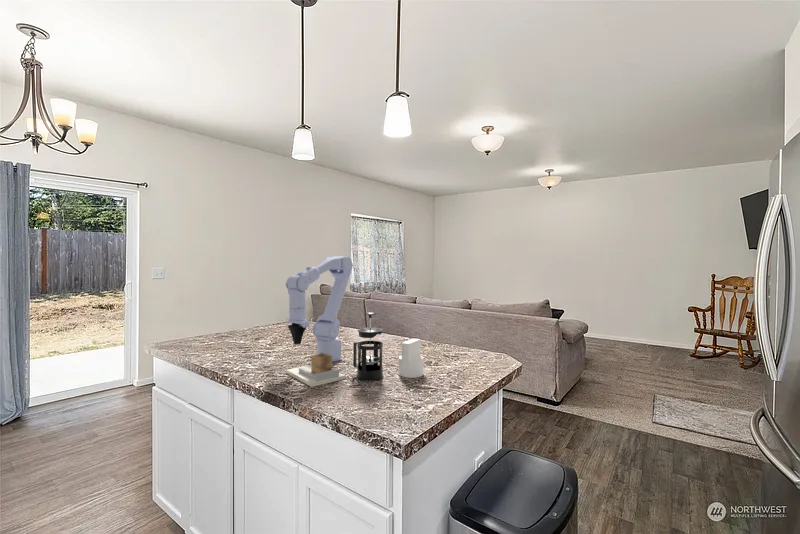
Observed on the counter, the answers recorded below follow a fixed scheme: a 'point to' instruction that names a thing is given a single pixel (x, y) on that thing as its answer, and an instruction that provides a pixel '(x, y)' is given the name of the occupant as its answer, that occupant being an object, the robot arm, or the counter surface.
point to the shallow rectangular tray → (315, 375)
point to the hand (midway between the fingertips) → (297, 344)
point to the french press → (370, 365)
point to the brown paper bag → (321, 363)
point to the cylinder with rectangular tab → (411, 359)
